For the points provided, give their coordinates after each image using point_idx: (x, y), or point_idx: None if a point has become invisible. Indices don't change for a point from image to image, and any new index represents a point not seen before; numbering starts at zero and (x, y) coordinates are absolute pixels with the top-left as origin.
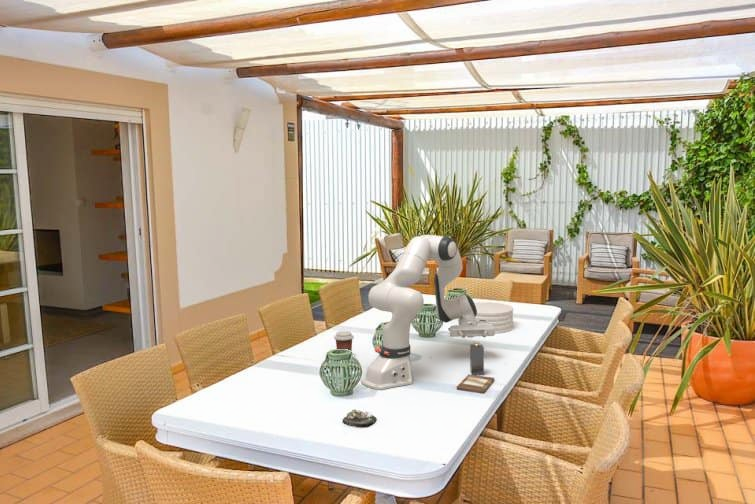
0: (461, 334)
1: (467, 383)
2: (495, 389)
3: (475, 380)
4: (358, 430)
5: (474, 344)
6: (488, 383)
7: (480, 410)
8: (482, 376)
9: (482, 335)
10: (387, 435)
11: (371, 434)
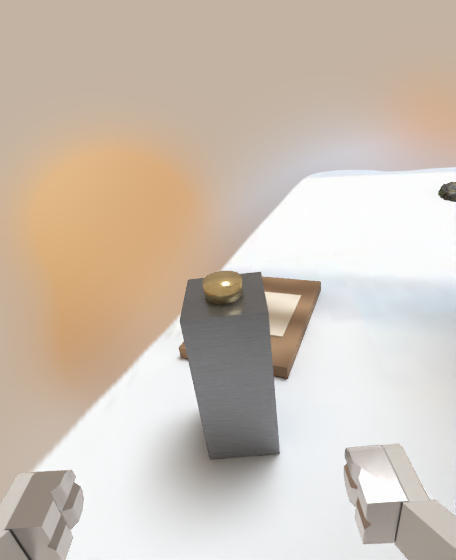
0: (401, 453)
1: (286, 297)
2: None
3: None
4: None
5: (240, 278)
6: None
7: (256, 236)
8: None
9: (62, 540)
10: (395, 186)
11: (421, 184)
